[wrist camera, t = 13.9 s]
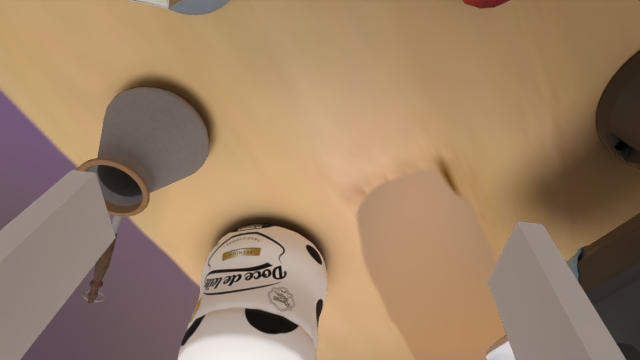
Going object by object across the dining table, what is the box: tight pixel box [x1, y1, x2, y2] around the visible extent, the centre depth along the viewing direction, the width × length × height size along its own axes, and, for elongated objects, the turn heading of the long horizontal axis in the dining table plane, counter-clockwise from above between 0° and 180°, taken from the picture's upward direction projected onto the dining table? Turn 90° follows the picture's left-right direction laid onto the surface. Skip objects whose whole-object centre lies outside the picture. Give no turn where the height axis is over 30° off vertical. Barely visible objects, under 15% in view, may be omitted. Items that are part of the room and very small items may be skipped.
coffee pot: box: [77, 87, 209, 303], centre depth 41 cm, size 21×12×15 cm, turn 157°
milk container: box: [178, 224, 328, 360], centre depth 49 cm, size 17×17×18 cm
